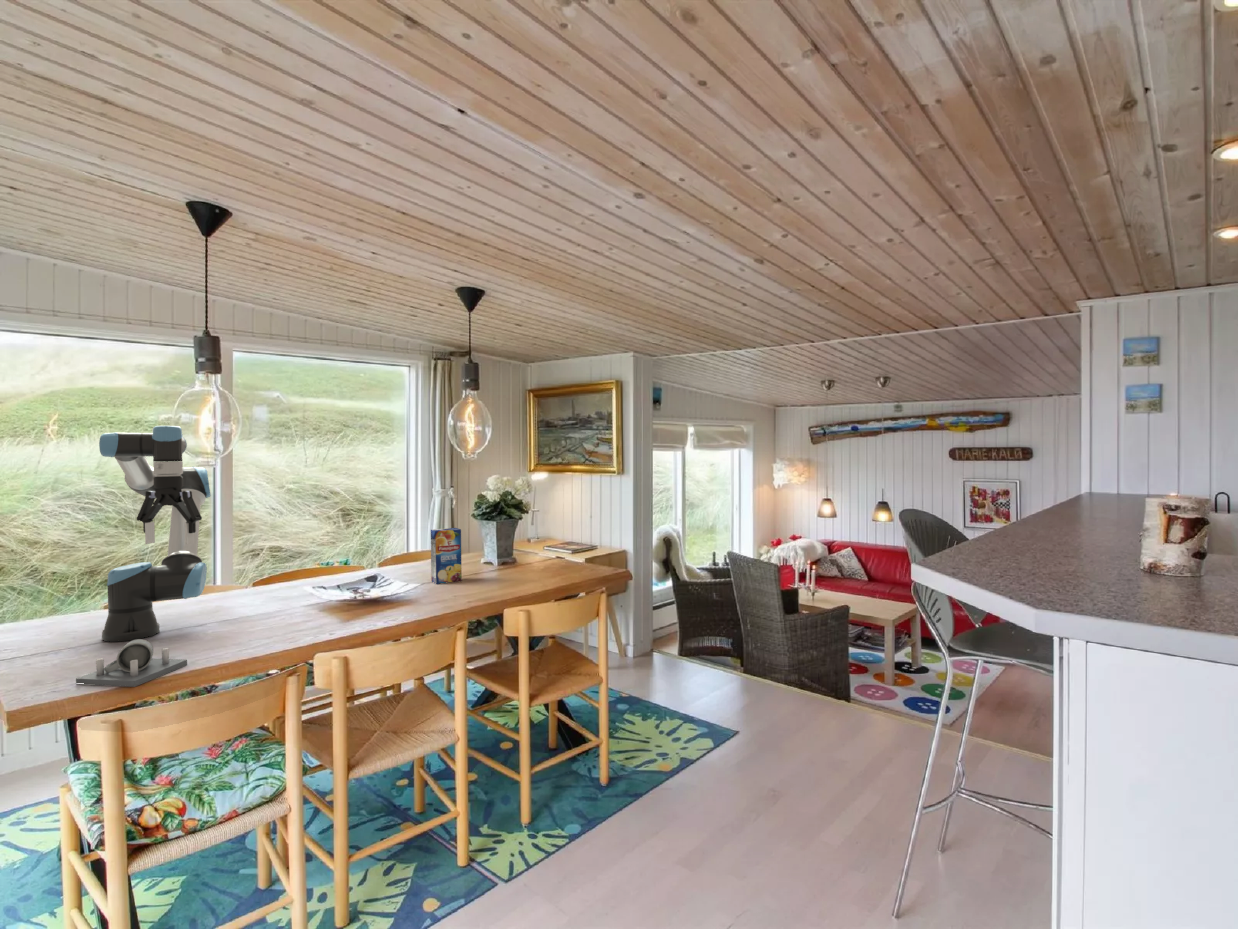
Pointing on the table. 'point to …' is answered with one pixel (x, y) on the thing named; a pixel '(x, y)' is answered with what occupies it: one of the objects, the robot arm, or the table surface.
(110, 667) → the ceramic mug
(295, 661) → the table surface
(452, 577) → the juice carton
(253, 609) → the table surface
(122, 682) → the pin plate
